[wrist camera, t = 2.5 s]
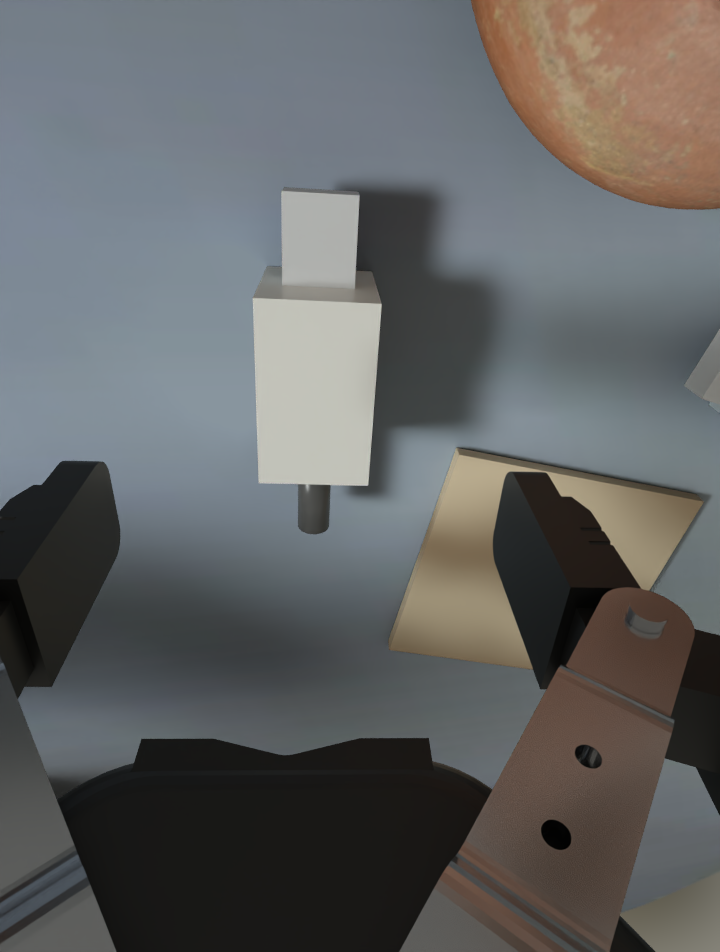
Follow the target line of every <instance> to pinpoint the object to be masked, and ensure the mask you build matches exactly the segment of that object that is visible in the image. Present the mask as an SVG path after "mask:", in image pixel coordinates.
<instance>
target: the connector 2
mask: <svg viewBox="0 0 720 952" xmlns="http://www.w3.org/2000/svg"><path fill="white" fill-rule="evenodd" d="M684 386H685V387H686V388H688V389H689V390H690V391H692V392H693V393H694V394H696V395H697V396H699V397H700V398H701V399H704V400H707V401H710V404H709V406H711V407H712V408H713V409H715V410H716V411H717V412H719V413H720V329H719V331H718V332H717V334H716V335H715V337H714V339H713V340H712V342H711V343H710V345H709V347H708V348H707V350H706V351H705V353H704V354H703V356H702V358H701V359H700V361H699V362H698V364H697V366H696V367H695V369H694V370H693V372H692V373H691V375H690V377H689V378H688V380H687V381H686V383H685V385H684Z"/></svg>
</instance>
